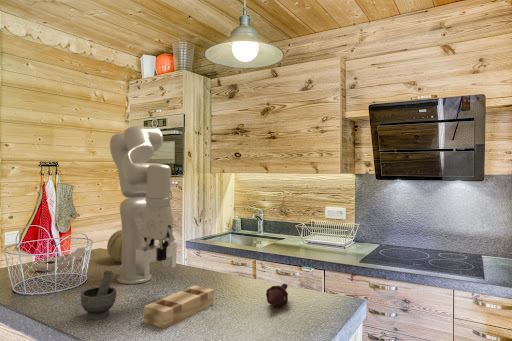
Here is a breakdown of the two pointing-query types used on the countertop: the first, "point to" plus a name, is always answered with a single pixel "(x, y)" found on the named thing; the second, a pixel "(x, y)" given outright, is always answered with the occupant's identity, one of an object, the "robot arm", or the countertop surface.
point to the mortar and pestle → (99, 298)
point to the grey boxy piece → (153, 258)
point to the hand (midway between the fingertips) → (156, 258)
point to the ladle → (60, 261)
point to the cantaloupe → (115, 246)
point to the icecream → (277, 296)
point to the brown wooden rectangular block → (178, 306)
